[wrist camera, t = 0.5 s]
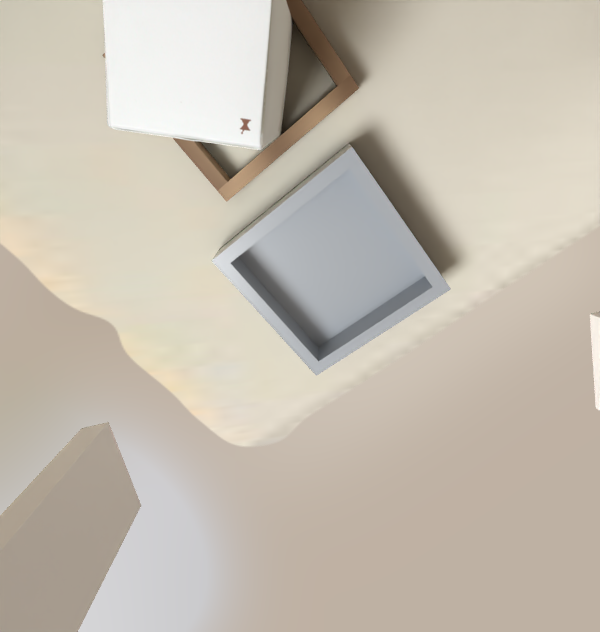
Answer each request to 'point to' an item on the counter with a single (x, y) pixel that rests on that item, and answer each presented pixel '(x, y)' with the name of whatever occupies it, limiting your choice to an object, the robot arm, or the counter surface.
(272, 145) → the walnut collar
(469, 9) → the counter surface
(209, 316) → the counter surface
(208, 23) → the supplement box
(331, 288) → the grey tray
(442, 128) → the counter surface
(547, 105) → the counter surface
